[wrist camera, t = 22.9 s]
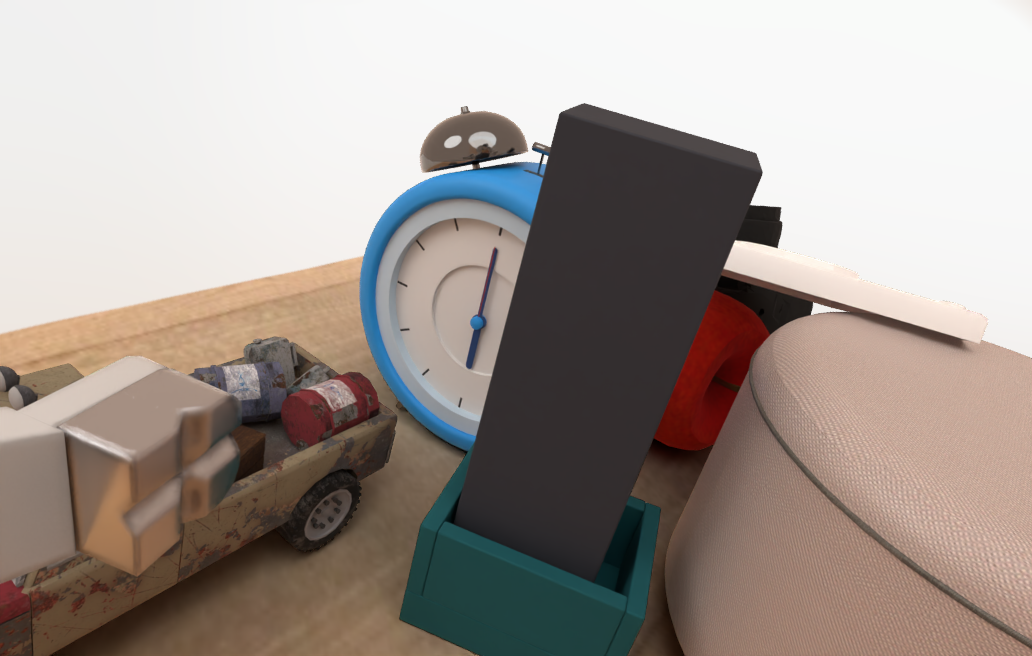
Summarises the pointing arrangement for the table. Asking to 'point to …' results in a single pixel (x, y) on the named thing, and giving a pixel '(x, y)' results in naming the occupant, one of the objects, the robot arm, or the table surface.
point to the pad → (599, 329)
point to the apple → (711, 374)
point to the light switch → (846, 290)
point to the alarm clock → (450, 272)
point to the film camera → (764, 302)
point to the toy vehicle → (247, 505)
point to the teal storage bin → (527, 588)
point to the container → (863, 500)
